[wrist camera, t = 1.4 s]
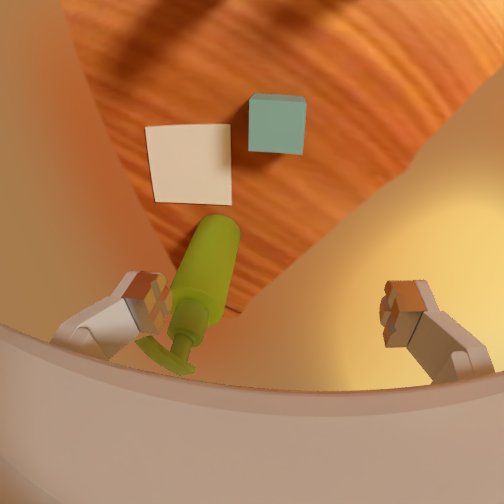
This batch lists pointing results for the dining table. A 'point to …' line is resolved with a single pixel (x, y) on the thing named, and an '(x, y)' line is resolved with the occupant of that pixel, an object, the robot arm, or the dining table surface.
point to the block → (277, 123)
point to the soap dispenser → (197, 292)
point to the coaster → (190, 163)
